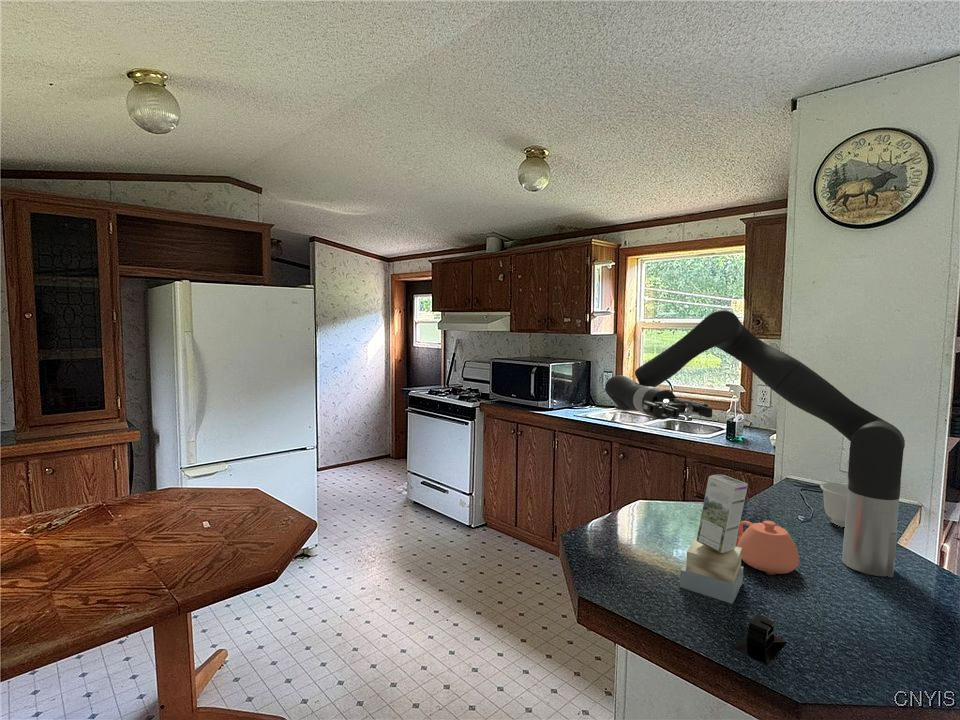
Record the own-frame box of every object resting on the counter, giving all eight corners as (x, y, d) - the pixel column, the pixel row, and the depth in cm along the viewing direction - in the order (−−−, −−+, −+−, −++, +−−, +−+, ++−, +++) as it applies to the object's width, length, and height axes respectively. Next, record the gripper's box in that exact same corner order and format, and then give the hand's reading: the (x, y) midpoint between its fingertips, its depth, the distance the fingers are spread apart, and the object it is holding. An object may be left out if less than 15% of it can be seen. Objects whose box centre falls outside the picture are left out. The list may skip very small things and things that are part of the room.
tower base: (742, 585, 107) (743, 566, 107) (732, 605, 99) (733, 586, 99) (692, 570, 113) (693, 552, 113) (679, 588, 105) (680, 569, 105)
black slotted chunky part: (769, 675, 80) (771, 647, 80) (721, 651, 85) (723, 625, 85) (795, 643, 88) (797, 618, 88) (751, 624, 94) (752, 600, 93)
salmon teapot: (776, 584, 107) (779, 537, 106) (718, 556, 120) (720, 514, 119) (810, 572, 113) (813, 527, 112) (751, 547, 125) (754, 506, 124)
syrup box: (735, 550, 106) (749, 482, 104) (720, 554, 102) (734, 484, 101) (710, 537, 110) (723, 473, 109) (694, 541, 107) (708, 474, 106)
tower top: (740, 566, 107) (742, 547, 107) (734, 584, 100) (735, 564, 99) (695, 554, 112) (696, 536, 112) (685, 570, 105) (686, 551, 104)
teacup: (867, 519, 145) (870, 485, 145) (873, 537, 133) (876, 500, 132) (816, 510, 152) (819, 477, 151) (817, 526, 139) (820, 490, 138)
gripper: (629, 387, 129) (667, 397, 113) (679, 387, 132) (722, 396, 117) (628, 416, 130) (665, 430, 114) (678, 415, 133) (720, 429, 117)
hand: (694, 413), depth 115 cm, fingers open, 8 cm apart
